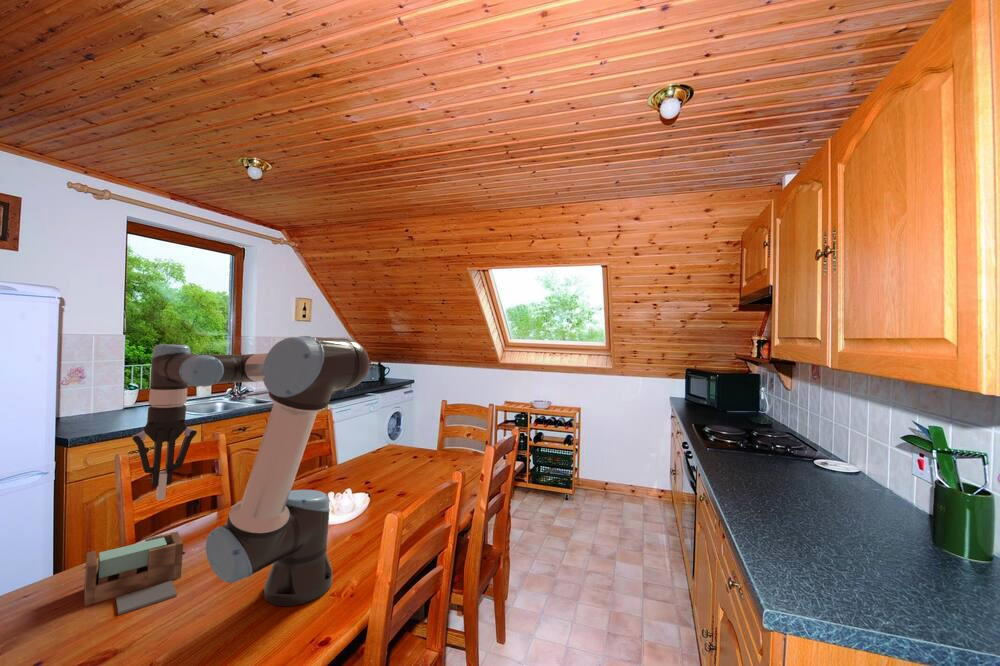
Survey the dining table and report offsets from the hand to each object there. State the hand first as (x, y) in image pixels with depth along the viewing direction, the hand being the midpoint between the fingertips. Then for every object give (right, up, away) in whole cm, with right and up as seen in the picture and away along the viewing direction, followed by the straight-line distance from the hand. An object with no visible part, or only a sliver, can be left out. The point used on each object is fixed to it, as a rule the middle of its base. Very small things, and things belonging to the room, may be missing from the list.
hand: (160, 498), depth 103 cm
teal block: (-4, -15, -4) cm, 16 cm away
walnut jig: (-3, -19, -4) cm, 20 cm away
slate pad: (+4, -20, -9) cm, 22 cm away
